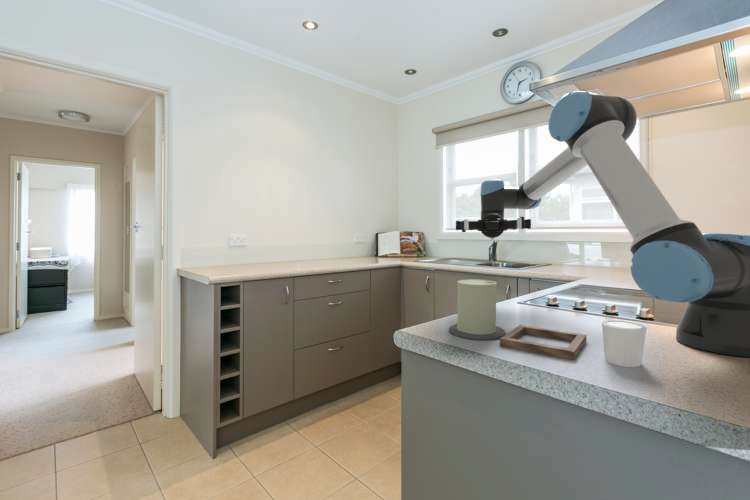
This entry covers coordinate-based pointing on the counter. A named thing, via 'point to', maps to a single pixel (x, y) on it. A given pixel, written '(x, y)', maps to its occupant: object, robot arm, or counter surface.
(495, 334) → the mat
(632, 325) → the shot glass
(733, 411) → the counter surface
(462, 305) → the can
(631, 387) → the counter surface
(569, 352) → the pocket
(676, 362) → the counter surface
